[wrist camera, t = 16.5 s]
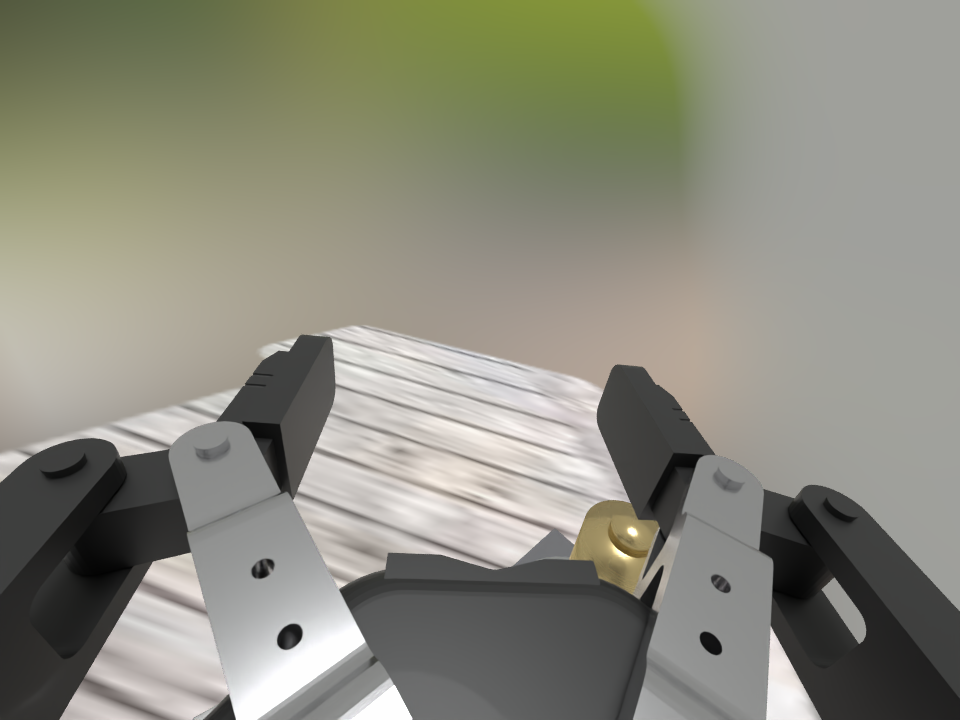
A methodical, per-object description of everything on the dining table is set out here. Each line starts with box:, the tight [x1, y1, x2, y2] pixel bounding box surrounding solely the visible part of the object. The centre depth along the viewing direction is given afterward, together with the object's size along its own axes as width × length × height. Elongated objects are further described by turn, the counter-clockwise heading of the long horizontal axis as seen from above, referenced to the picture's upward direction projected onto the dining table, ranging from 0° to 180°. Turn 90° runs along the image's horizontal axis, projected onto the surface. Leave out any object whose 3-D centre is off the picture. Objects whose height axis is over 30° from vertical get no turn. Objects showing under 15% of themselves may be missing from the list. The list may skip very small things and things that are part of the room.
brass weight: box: [569, 500, 659, 595], centre depth 25 cm, size 5×5×12 cm
